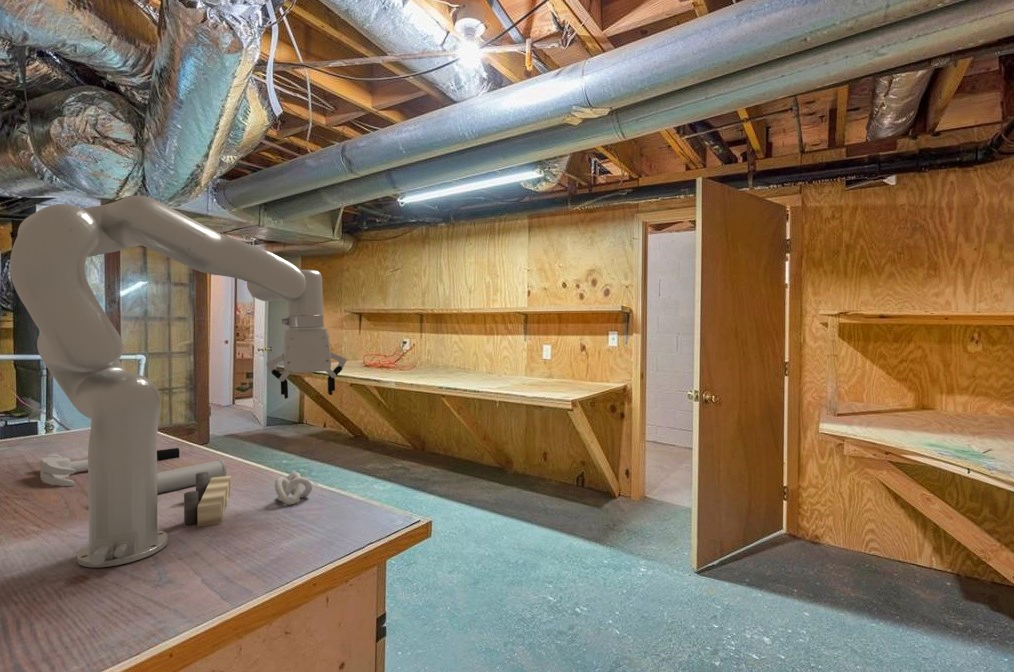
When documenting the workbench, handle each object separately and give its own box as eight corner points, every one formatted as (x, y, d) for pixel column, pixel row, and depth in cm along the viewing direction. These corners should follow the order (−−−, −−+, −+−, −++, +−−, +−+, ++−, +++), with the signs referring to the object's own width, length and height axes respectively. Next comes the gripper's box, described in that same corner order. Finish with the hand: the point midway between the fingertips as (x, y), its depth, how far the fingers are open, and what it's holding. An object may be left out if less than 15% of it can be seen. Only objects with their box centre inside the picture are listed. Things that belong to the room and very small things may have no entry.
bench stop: (220, 523, 98) (220, 494, 98) (181, 529, 95) (181, 498, 95) (230, 492, 116) (230, 467, 116) (198, 496, 113) (198, 470, 113)
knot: (266, 500, 111) (266, 475, 111) (301, 492, 117) (301, 468, 117) (279, 509, 106) (279, 482, 106) (315, 500, 112) (315, 474, 112)
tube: (105, 492, 105) (227, 465, 125) (98, 479, 108) (219, 455, 128) (103, 513, 106) (225, 483, 126) (96, 500, 109) (216, 473, 129)
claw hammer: (169, 438, 153) (38, 453, 131) (191, 451, 138) (47, 470, 116) (169, 456, 153) (37, 473, 131) (190, 470, 138) (46, 493, 116)
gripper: (264, 324, 106) (267, 401, 107) (347, 322, 114) (349, 395, 115) (265, 323, 113) (267, 396, 114) (342, 322, 120) (344, 390, 121)
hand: (308, 395), depth 114 cm, fingers open, 9 cm apart
